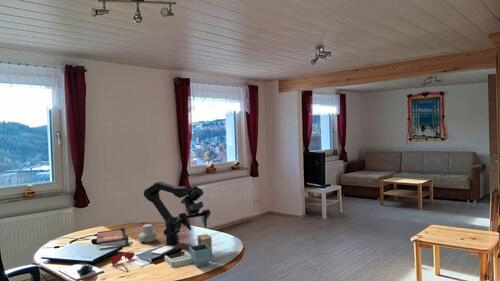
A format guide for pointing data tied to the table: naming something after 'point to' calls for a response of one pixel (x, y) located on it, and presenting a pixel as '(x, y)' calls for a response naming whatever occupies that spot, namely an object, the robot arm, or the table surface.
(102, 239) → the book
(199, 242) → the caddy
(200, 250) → the flower pot
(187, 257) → the bay
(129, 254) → the glasses
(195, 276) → the table surface
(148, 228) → the air freshener
